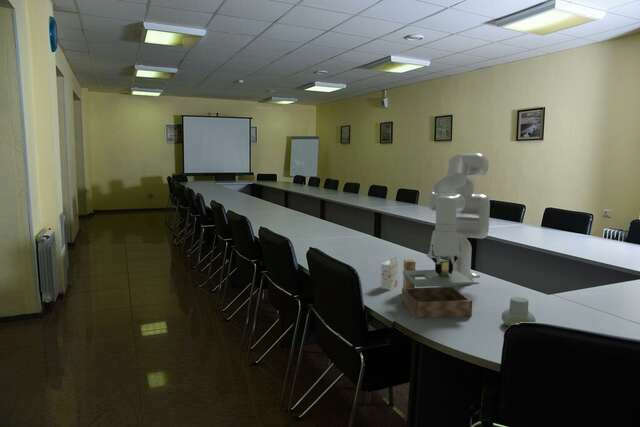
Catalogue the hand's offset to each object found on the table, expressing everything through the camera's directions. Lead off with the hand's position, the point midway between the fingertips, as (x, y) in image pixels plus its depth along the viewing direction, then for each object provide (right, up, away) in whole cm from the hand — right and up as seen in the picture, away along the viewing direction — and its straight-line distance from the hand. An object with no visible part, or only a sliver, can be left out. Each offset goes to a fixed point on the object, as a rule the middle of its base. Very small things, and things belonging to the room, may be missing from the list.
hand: (443, 272), depth 169 cm
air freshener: (+22, -17, -16) cm, 32 cm away
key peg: (-10, -12, +19) cm, 25 cm away
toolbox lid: (-3, -2, 0) cm, 4 cm away
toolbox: (-3, -15, +1) cm, 15 cm away
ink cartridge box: (-17, -11, +30) cm, 36 cm away
